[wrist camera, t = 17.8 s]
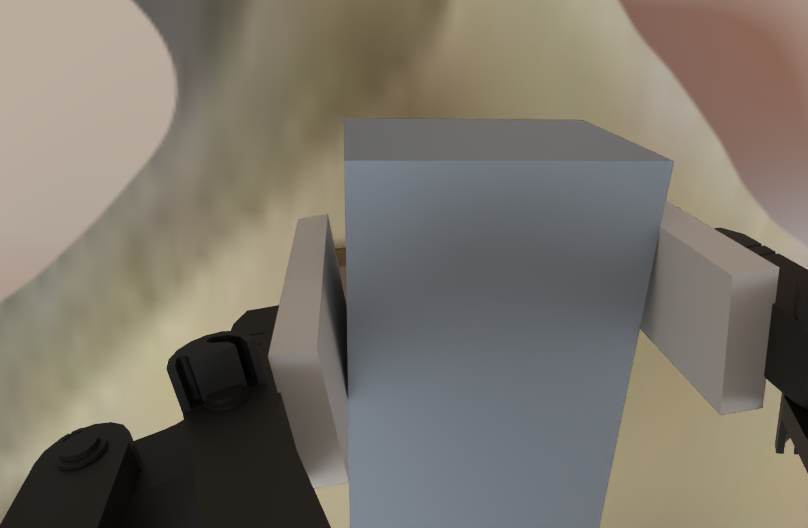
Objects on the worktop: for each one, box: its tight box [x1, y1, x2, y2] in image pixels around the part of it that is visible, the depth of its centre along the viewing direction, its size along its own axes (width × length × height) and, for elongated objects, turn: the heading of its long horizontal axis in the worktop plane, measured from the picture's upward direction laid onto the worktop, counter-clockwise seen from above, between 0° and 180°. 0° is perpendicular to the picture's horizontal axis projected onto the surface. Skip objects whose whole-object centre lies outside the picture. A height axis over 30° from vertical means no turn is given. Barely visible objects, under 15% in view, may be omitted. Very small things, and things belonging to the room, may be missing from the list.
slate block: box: [344, 118, 674, 528], centre depth 14 cm, size 9×6×4 cm, turn 178°
